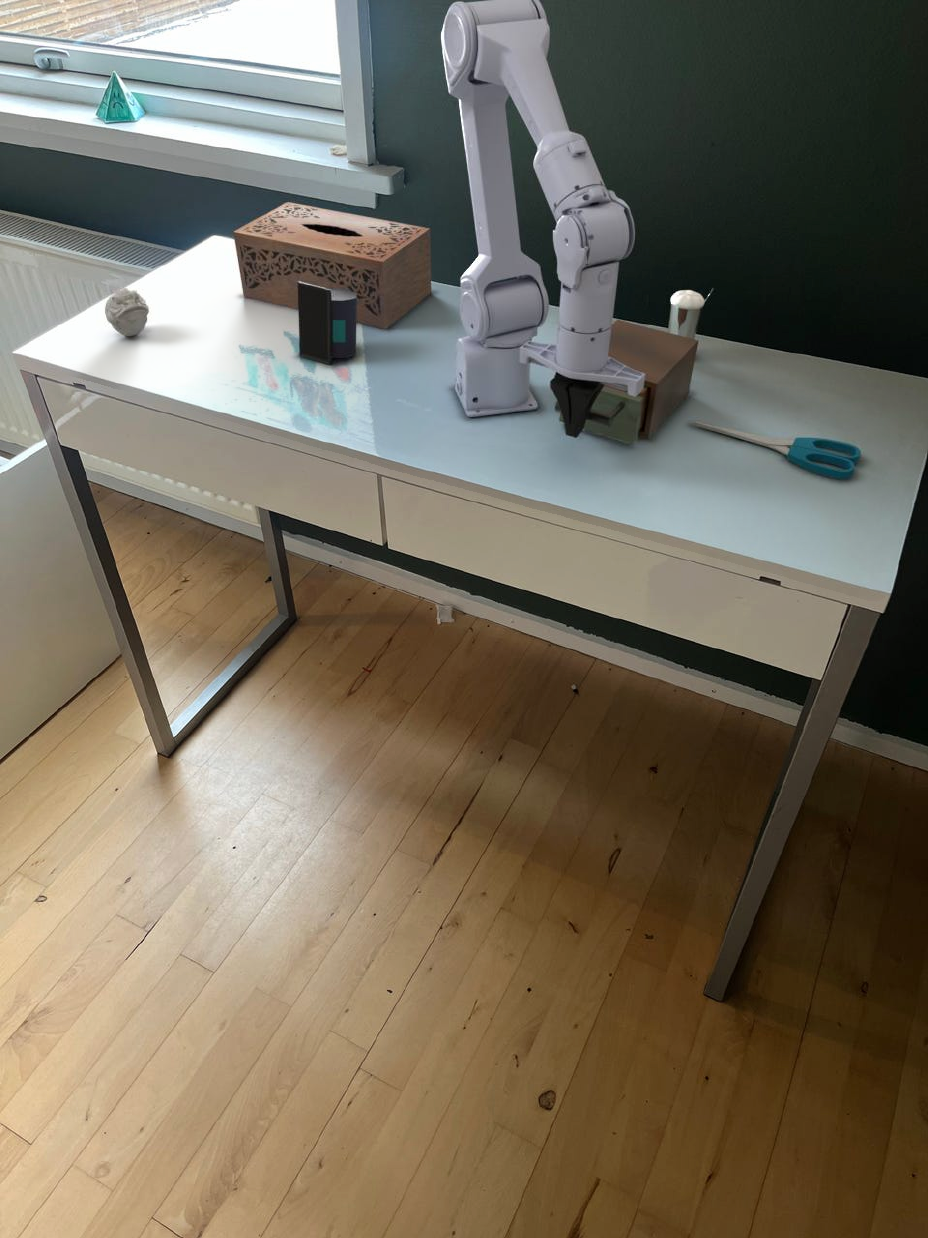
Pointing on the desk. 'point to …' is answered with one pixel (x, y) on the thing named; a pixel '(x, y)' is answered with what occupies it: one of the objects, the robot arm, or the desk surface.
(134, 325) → the frog figurine
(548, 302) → the robot arm
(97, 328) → the desk surface
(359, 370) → the desk surface
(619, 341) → the cabinet
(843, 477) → the scissors
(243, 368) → the desk surface
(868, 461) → the desk surface
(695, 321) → the milkshake
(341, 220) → the tissue box cover
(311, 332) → the speaker
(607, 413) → the drawer
